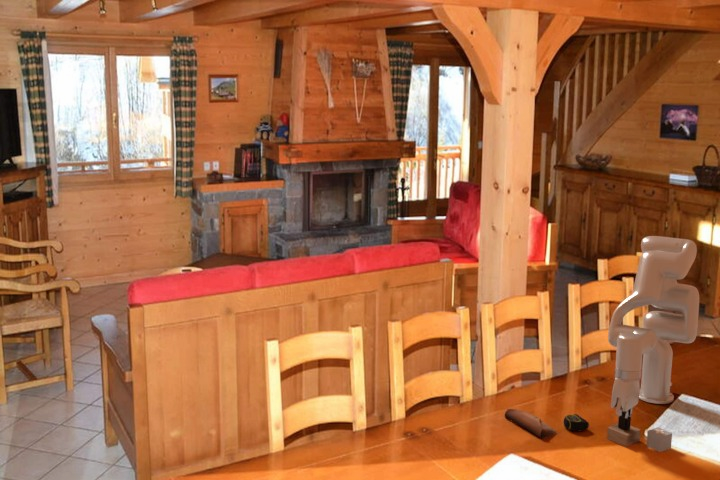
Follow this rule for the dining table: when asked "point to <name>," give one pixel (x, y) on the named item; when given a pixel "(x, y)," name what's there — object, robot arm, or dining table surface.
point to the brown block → (623, 435)
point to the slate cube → (659, 439)
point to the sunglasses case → (530, 423)
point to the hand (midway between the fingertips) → (624, 428)
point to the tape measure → (575, 423)
